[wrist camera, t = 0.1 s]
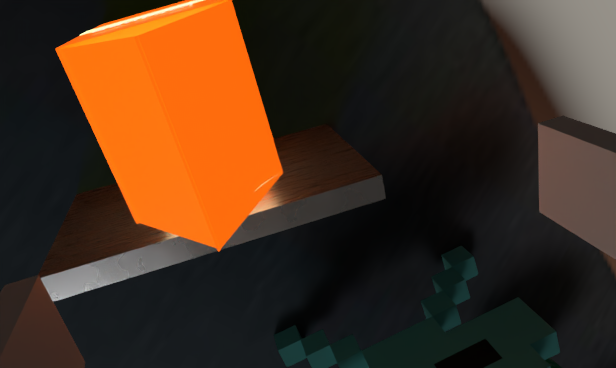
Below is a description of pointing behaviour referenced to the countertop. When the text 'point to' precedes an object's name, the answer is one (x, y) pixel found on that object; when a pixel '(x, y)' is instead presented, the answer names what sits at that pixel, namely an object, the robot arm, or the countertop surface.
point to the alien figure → (439, 334)
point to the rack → (174, 249)
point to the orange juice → (177, 116)
